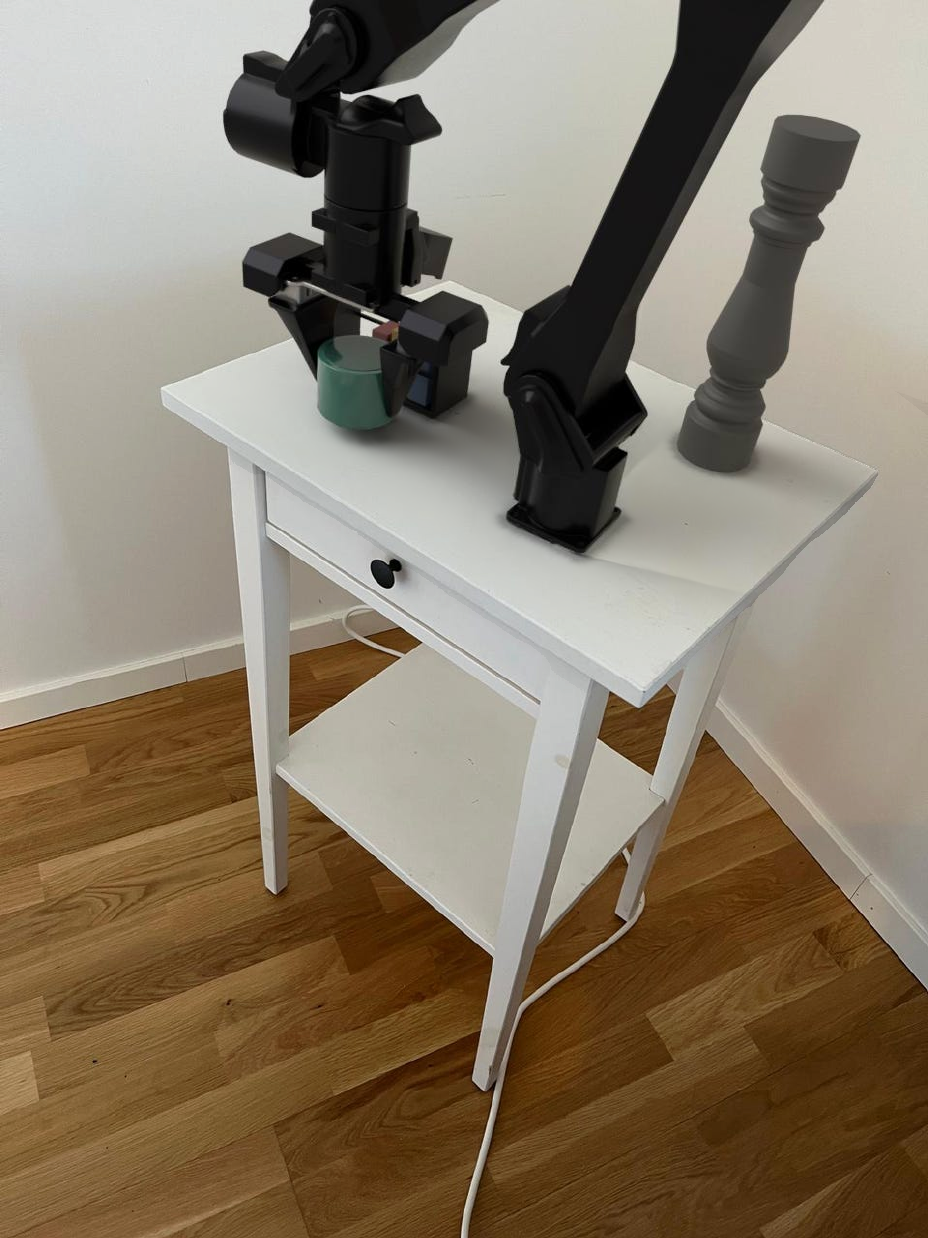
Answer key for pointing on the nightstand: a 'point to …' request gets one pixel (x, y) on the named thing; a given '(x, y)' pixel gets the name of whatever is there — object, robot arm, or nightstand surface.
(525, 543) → the nightstand surface
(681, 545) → the nightstand surface
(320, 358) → the green glass jar
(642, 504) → the nightstand surface
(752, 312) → the candle holder
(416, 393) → the books
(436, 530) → the nightstand surface
